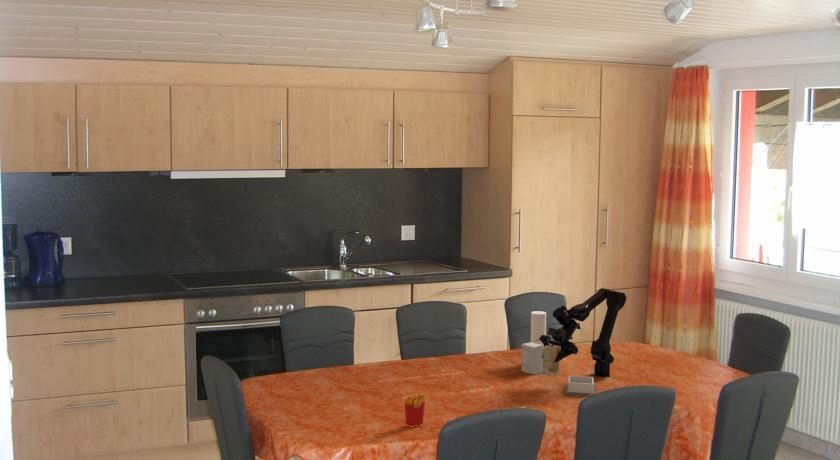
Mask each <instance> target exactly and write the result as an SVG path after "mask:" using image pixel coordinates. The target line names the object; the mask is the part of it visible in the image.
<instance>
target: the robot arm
mask: <svg viewBox="0 0 840 460" xmlns="http://www.w3.org/2000/svg"><path fill="white" fill-rule="evenodd" d="M605 300H606V302H605V303H606V307H607V308H606V313H605V316H604V319H603V322H602V326H601V330H600V333H599V336H598V338H597V339H596V340H593V341H592V343H591V347H590V355H591V359H592V361H595V363H593V364H594V365H593V370H594V372H593V373H594V375H595V376H597V377H611V364H613V363H614V361H615V357H614V355H612V353H611V350H612V347H611V343H610V341H611V337H612V334H613V330H614V327H615V324H616V320H617V317H618V315H619V314H618V313H619V312H620V311H621V310H622V309H623V307H624V306H625V304H626V301H627V296H626V293H625V292H621V291H617V290H611V289H608V288H604V287H601V288H599V289H598V290H597V291H596V292H595V293H594V294H592V295H591V296H590V297H589V298H588V299H586V300H585V301H584V302H582V303H578V304H576V305H573V306H571V307H570V309H568V308H567V306H565V305H561V306H560V307H557V308H555V309H554V310H553V312H552V316H553V318H554V319H555V320H556V321H557V322H558V324H559V325H560V326H561V327H559V328H555V327H548V331H547V332H546V335H541V337H540V338H539V339H540V341H541V342H542V343H543V344H544V347H545V346H555V347H560V352H559V353H558V355H557V357H556V359H555V363H557V362H558V361H559V362H560V361H561V360H564V359H565V358H566V357H569V356H572V355H575V356H576V355H577V354H578V353H579V348H578V346H577V345H576V344H575V343H574V342H572V341H570V340H573V335H574V333H575V331H576V330H581V325H580V322H584V321H586V319H588V318H589V316H590V314H591V312H592V311H593V310H594V309H595V308H596V307H598V306H599V305H601V303H603V302H604V301H605ZM550 336H551V337H550ZM542 358H543V354H542Z"/></svg>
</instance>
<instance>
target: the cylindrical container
mask: <svg viewBox="0 0 840 460" xmlns="http://www.w3.org/2000/svg"><path fill="white" fill-rule="evenodd" d="M530 314H531V315H530V342H532V343H536V344H540V345H543V348H544V344H543V343H542V342H541V341H540V339H539V338H540V337H541V335H547V312H546V311H541V310H536V311H535V310H534V311H531V313H530Z"/></svg>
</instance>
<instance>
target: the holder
mask: <svg viewBox="0 0 840 460" xmlns="http://www.w3.org/2000/svg"><path fill="white" fill-rule="evenodd" d="M567 380H568V383H565V389H564V390H565V394H564V395H565V396H576V397H577V396H578V397H589V396H588V395H590V394H593V393H596V392H597V385H596V384H595V382H594V381H595V380H594V376H585V375H584V376H582V375H568V379H567Z"/></svg>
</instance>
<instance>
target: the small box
mask: <svg viewBox="0 0 840 460" xmlns="http://www.w3.org/2000/svg"><path fill="white" fill-rule="evenodd" d="M542 354H543V345H540V344H536V343H532V342H531V341H530V342H525V343H521V364H520V365H521V369H520V370H521V372H524V373H526V374H530V375H538V374H541V373H542V374H543V358H542Z"/></svg>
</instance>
